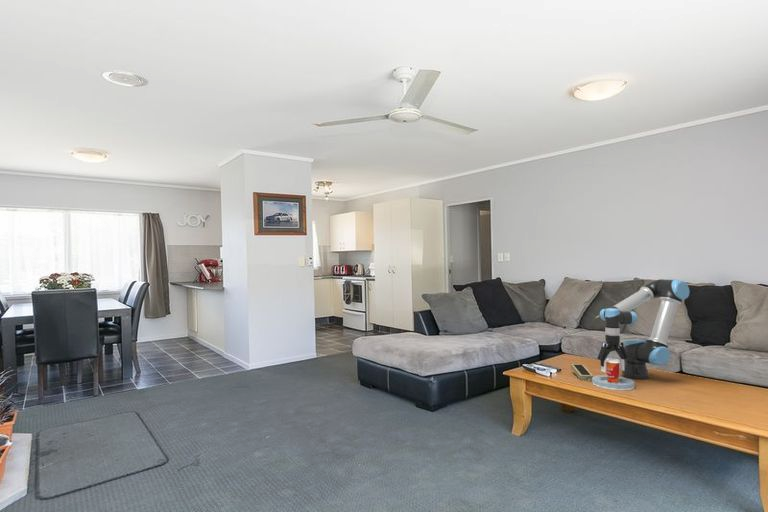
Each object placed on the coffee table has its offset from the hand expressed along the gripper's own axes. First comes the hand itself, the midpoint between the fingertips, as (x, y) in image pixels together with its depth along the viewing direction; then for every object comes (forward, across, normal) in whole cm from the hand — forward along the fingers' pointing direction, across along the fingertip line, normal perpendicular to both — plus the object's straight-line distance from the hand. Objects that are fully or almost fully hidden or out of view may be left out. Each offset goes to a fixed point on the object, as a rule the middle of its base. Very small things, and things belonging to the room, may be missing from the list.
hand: (612, 371), depth 257 cm
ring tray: (+8, 0, 0) cm, 8 cm away
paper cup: (+7, 0, 0) cm, 7 cm away
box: (+8, -4, +20) cm, 22 cm away
